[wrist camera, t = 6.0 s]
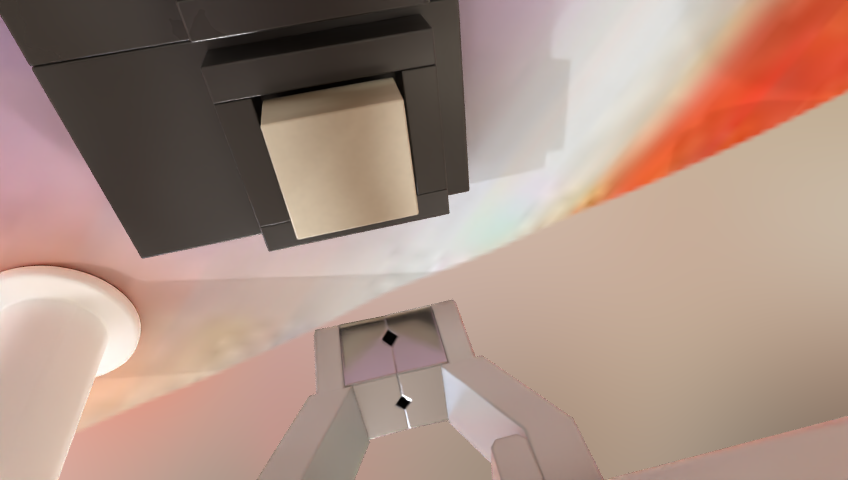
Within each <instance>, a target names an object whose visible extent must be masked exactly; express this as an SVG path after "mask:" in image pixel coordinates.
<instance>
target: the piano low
mask: <svg viewBox="0 0 848 480" xmlns="http://www.w3.org/2000/svg"><path fill="white" fill-rule="evenodd" d="M32 70H33V72H34V74H35V75H36V77H37V79H38V81H39V82H40V84H41V86H42V87H43V89H44V91H45V93H46V94H47V96H48V98H49V99H50V101H51V103H52V105H53V106H54V108H55V110H56V112H57V113H58V115H59V117H60V118H61V120H62V122H63V124H64V125H65V127H66V129H67V130H68V132H69V134H70V136H71V137H72V139H73V141H74V142H75V144H76V146H77V148H78V149H79V151H80V153H81V155H82V156H83V158H84V160H85V161H86V163H87V165H88V167H89V168H90V170H91V172H92V173H93V175H94V177H95V179H96V180H97V182H98V184H99V186H100V187H101V189H102V191H103V192H104V194H105V196H106V198H107V199H108V201H109V203H110V204H111V206H112V208H113V210H114V211H115V213H116V215H117V217H118V218H119V220H120V222H121V223H122V225H123V227H124V229H125V230H126V232H127V234H128V235H129V237H130V239H131V241H132V242H133V244H134V246H135V247H136V249H137V251H138V253H139V254H140V256H141V258H148V257H153V256H158V255H163V254H168V253H172V252H177V251H182V250H187V249H192V248H196V247H201V246H206V245H211V244H216V243H221V242H225V241H230V240H235V239H240V238H245V237H250V236H254V235H259V234H262V235H263V238H264V240H265V243H266V246H267V248H268V251H275V250H280V249H284V248H289V247H294V246H299V245H303V244H308V243H313V242H318V241H322V240H327V239H332V238H336V237H341V236H346V235H351V234H355V233H360V232H365V231H370V230H374V229H379V228H384V227H389V226H393V225H398V224H403V223H408V222H412V221H417V220H422V219H427V218H431V217H436V216H441V215H445V214H449V202H448V195H452V194H457V193H462V192H467V191H469V174H468V157H467V140H466V122H465V105H464V88H463V70H462V53H461V35H460V18H459V1H458V0H430V3H428V4H424V5H418V6H412V7H406V8H400V9H394V10H388V11H382V12H376V13H370V14H364V15H358V16H352V17H346V18H340V19H334V20H328V21H322V22H316V23H310V24H304V25H298V26H292V27H286V28H280V29H274V30H268V31H262V32H256V33H250V34H244V35H238V36H232V37H226V38H220V39H214V40H208V41H202V42H196V43H192V42H191V41H190V40H189V41H183V42H177V43H171V44H165V45H159V46H153V47H147V48H141V49H135V50H129V51H123V52H117V53H111V54H105V55H99V56H93V57H87V58H81V59H75V60H69V61H63V62H57V63H51V64H45V65H39V66H33V67H32ZM389 77H393V79H394V81H395V83H396V85H397V87H398V89H399V91H400V94H401V96H402V98H403V100H404V106H405V114H406V121H407V129H408V136H409V144H410V151H411V159H412V166H413V173H414V181H415V188H416V196H417V203H418V211H419V213H418V214H417V215H413V216H408V217H404V218H399V219H394V220H389V221H385V222H380V223H375V224H370V225H365V226H361V227H356V228H351V229H346V230H342V231H337V232H332V233H327V234H323V235H318V236H313V237H308V238H304V239H297V238H296V235H295V232H294V228H293V225H292V222H291V219H290V216H289V213H288V210H287V207H286V204H285V201H284V198H283V195H282V192H281V189H280V186H279V182H278V179H277V176H276V173H275V170H274V167H273V164H272V161H271V158H270V155H269V152H268V149H267V146H266V143H265V140H264V136H263V133H262V130H261V127H260V126H261V115H262V104H263V101H264V100H268V99H273V98H279V97H284V96H290V95H295V94H301V93H306V92H312V91H317V90H323V89H328V88H334V87H340V86H345V85H351V84H356V83H362V82H367V81H373V80H378V79H384V78H389Z"/></svg>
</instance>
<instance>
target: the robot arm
mask: <svg viewBox="0 0 848 480" xmlns="http://www.w3.org/2000/svg"><path fill="white" fill-rule="evenodd" d="M314 350H315V373H316V394H315V395H311V396H309V397H308V399H307V400H306V402H305V404H304V405H303V407H302V409H301V410H300V411H299V413H298V415H297V416H296V418H295V419H294V421H293V423H292V424H291V426H290V427H289V429H288V431H287V432H286V434H285V435H284V437H283V439H282V440H281V442H280V443H279V445H278V446H277V448H276V450H275V451H274V453H273V454H272V456H271V458H270V459H269V461H268V462H267V464H266V466H265V467H264V469H263V471H262V472H261V474H260V475H259V477H258V478H257V480H355V478H356V475H357V473H358V470H359V468H360V465H361V463H362V460H363V458H364V455H365V453H366V450H367V448H368V445H369V443H370V441H369V440H370V439H374V438H377V437H381V436H385V435H388V434H392V433H395V432H399V431H403V430H407V429H411V428H416V427H420V426H425V425H430V424H434V423H439V422H443V421H448V420H449V423H450V424H451V425H452V426H453V427H454V428H455V429H456V430H458V431H459V432H460V433H461V434H462V435H463V436H464V437H465V438H466V439H467V440H468V441H469V442H470V443H471V444H472V445H473V446H474V447H475V448H476V449H477V450H478V451H479V452H480V453H481V454H482V455H483V456H484V457H485V458H486V459H487V460H488V461H489V462H490V463H491V464H492V480H604V479H603V477H602V475H601V473H600V471H599V469H598V467H597V465H596V463H595V461H594V459H593V457H592V455H591V453H590V451H589V449H588V447H587V445H586V443H585V441H584V439H583V437H582V435H581V433H580V431H579V429H578V427H577V425H576V423H575V421H574V419H573V418H572V417H571V416H569V415H568V414H566V413H565V412H563V411H562V410H561V409H559V408H558V407H556V406H555V405H553V404H552V403H550V402H549V401H548V400H546V399H545V398H543V397H542V396H540V395H539V394H537V393H536V392H534V391H533V390H532V389H530V388H529V387H527V386H526V385H524V384H523V383H521V382H520V381H519V380H517V379H516V378H514V377H513V376H511V375H510V374H508V373H507V372H506V371H504V370H503V369H501V368H500V367H498V366H497V365H495V364H494V363H493V362H491V361H490V360H488V359H487V358H485V357H484V356H477V357H475V354H474V352H473V349H472V346H471V343H470V341H469V338H468V335H467V332H466V329H465V327H464V324H463V321H462V319H461V316H460V313H459V310H458V308H457V305H456V303H455V301H454V300H449V301H445V302H440V303H436V304H432V305H431V306H430V305H427V306H423V307H419V308H414V309H410V310H406V311H402V312H398V313H393V314H389V315H385V316H381V317H376V318H371V319H366V320H361V321H356V322H351V323H346V324H341V325H338V326H333V327H329V328H323V329H318V330H315V334H314ZM408 426H409V427H408ZM606 480H848V416H844V417H840V418H837V419H833V420H829V421H825V422H821V423H818V424H814V425H810V426H807V427H803V428H799V429H795V430H791V431H788V432H784V433H780V434H777V435H772V436H768V437H765V438H761V439H757V440H753V441H750V442H746V443H742V444H738V445H734V446H731V447H727V448H723V449H719V450H715V451H712V452H708V453H704V454H700V455H696V456H693V457H689V458H685V459H682V460H678V461H674V462H670V463H666V464H662V465H659V466H655V467H651V468H647V469H644V470H640V471H636V472H632V473H628V474H625V475H621V476H617V477H613V478H609V479H606Z"/></svg>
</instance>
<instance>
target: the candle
mask: <svg viewBox="0 0 848 480" xmlns="http://www.w3.org/2000/svg"><path fill="white" fill-rule="evenodd" d="M140 334H141V323H140V318H139V315H138V313H137V311H136V309H135V307H134V306H133V304H132V303H131V302H130V301H129V299H128V298H127V297H126V296H125V295H124V294H123V293H121V292H120V291H119V290H118V289H116V288H115V287H114V286H112V285H110V284H109V283H107V282H105V281H103V280H101V279H99V278H97V277H95V276H92V275H90V274H87V273H84V272H81V271H77V270H73V269H68V268H63V267H55V266H27V267H19V268H14V269H10V270H6V271H3V272H0V480H58V478H59V476H60V473H61V470H62V468H63V465H64V461H65V459H66V456H67V454H68V451H69V448H70V446H71V443H72V440H73V437H74V434H75V432H76V429H77V426H78V423H79V421H80V418H81V415H82V412H83V410H84V407H85V404H86V401H87V399H88V396H89V393H90V390H91V387H92V385H93V382H94V379H95V377H97V376H100V375H103V374H106V373H108V372H110V371H112V370H114V369H116V368H118V367H119V366H121V365H122V364H123V363H125V362H126V361H127V360H128V359H129V358H130V357H131V355H132V354H133V353H134V351H135V349H136V347H137V345H138V341H139V338H140Z"/></svg>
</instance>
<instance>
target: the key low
mask: <svg viewBox="0 0 848 480" xmlns="http://www.w3.org/2000/svg"><path fill="white" fill-rule="evenodd" d="M260 127H261V130H262V133H263V136H264V140H265V143H266V146H267V149H268V152H269V155H270V158H271V161H272V164H273V167H274V170H275V173H276V176H277V179H278V182H279V186H280V189H281V192H282V195H283V198H284V201H285V204H286V207H287V210H288V213H289V216H290V219H291V222H292V225H293V228H294V232H295V235H296V238H297V239H304V238H308V237H313V236H318V235H323V234H327V233H332V232H337V231H342V230H346V229H351V228H356V227H361V226H365V225H370V224H375V223H380V222H385V221H389V220H394V219H399V218H404V217H408V216H413V215H417V214H418V213H419V211H418V203H417V196H416V188H415V181H414V173H413V166H412V159H411V151H410V144H409V136H408V129H407V121H406V114H405V106H404V100H403V98H402V96H401V94H400V91H399V89H398V87H397V85H396V83H395V81H394V79H393V77H389V78H384V79H378V80H373V81H367V82H362V83H356V84H351V85H345V86H340V87H334V88H328V89H323V90H317V91H312V92H306V93H301V94H295V95H290V96H284V97H279V98H273V99H268V100H264V101H263V104H262V115H261V126H260Z"/></svg>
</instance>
